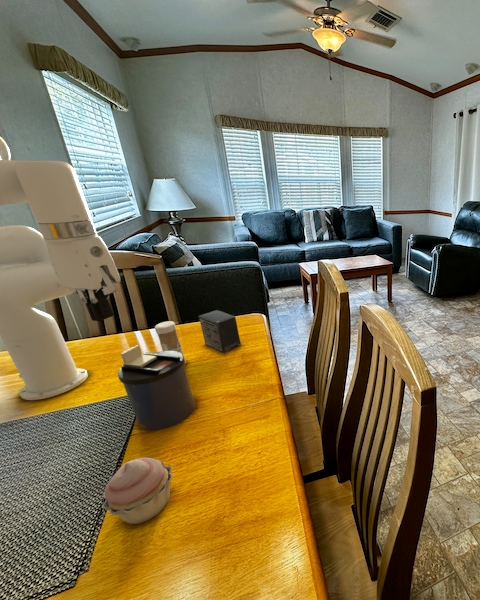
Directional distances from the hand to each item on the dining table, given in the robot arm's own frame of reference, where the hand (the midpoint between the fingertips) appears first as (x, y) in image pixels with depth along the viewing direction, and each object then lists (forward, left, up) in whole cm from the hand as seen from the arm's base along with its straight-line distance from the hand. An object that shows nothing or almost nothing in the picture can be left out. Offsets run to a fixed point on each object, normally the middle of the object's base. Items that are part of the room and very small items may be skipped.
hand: (103, 318), depth 69 cm
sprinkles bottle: (-5, +17, -24) cm, 30 cm away
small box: (0, +30, -24) cm, 38 cm away
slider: (+6, 0, -10) cm, 12 cm away
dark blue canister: (+9, 0, -24) cm, 25 cm away
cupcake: (+25, -20, -24) cm, 40 cm away
